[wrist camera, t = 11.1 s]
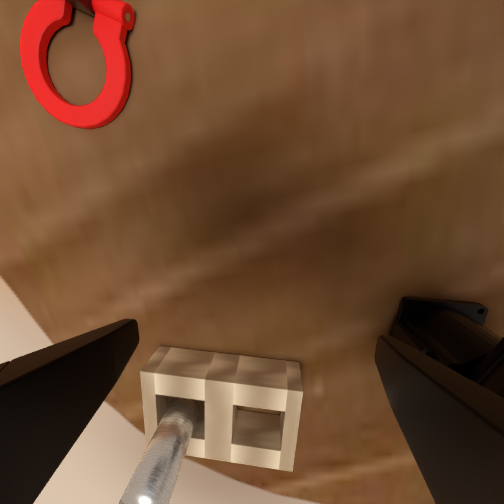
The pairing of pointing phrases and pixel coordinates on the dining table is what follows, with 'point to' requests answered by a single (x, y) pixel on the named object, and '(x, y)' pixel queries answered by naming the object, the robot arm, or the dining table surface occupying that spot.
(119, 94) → the tow hook
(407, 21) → the dining table surface
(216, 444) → the pin block
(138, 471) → the metal pin
